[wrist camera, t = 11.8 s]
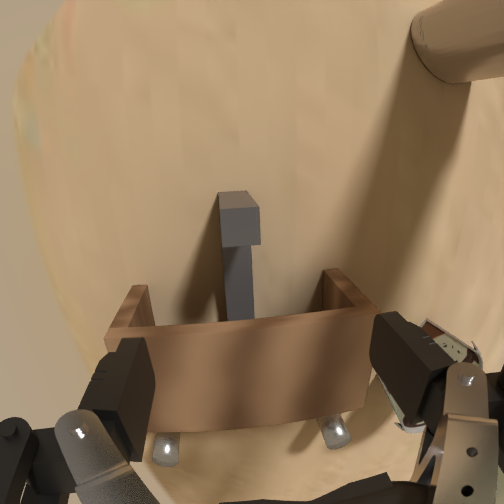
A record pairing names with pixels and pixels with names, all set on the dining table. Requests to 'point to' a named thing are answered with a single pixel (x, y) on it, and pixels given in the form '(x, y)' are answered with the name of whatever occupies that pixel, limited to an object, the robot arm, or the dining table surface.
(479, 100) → the dining table surface
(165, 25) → the dining table surface
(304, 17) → the dining table surface
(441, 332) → the food container
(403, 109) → the dining table surface
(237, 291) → the scraper
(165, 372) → the low shelf
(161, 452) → the goal posts
